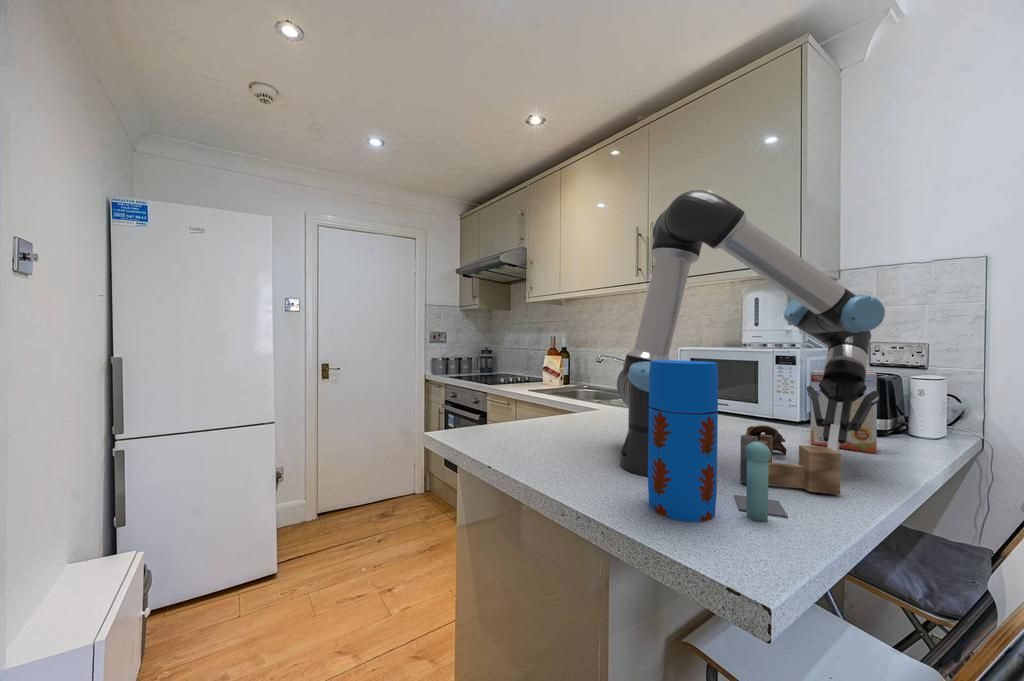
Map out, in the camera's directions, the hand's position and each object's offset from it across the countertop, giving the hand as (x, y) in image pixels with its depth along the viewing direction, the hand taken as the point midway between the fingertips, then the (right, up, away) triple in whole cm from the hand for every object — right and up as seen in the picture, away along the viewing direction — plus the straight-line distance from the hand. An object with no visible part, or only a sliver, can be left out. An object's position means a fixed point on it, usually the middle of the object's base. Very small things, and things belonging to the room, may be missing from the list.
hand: (832, 453), depth 84 cm
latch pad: (-23, -5, -13) cm, 27 cm away
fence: (-13, -6, +3) cm, 14 cm away
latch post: (-26, -5, -18) cm, 32 cm away
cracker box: (+25, -6, +28) cm, 38 cm away
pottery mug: (-1, -6, +21) cm, 22 cm away
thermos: (-37, -6, -14) cm, 40 cm away
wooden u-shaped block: (-12, -5, -4) cm, 14 cm away
